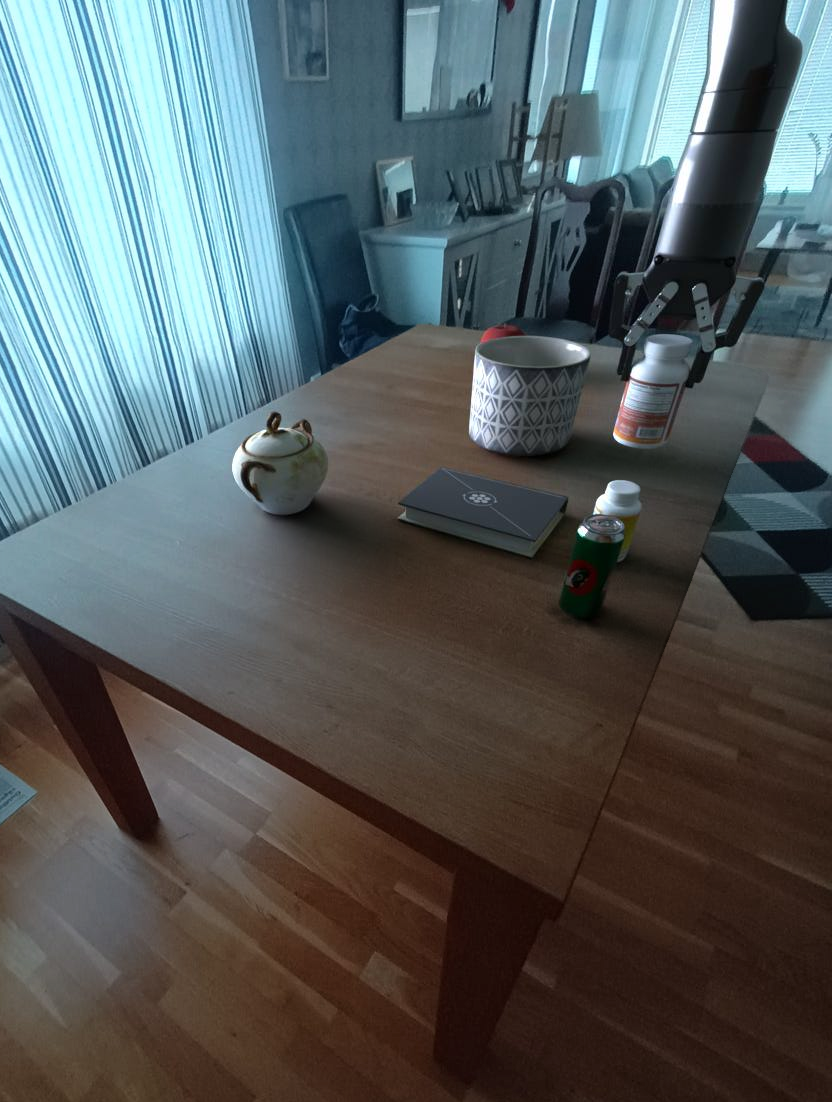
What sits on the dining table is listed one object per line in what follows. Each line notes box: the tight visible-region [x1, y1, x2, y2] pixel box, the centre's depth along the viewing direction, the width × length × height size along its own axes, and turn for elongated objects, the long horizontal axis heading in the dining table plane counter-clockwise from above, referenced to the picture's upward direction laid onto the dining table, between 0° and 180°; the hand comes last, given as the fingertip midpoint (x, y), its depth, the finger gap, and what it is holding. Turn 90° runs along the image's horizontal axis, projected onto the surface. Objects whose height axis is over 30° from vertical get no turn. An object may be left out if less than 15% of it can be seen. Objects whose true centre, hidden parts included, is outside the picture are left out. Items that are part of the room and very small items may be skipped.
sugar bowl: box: [231, 410, 329, 516], centre depth 90 cm, size 20×15×15 cm
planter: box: [468, 335, 592, 457], centre depth 104 cm, size 19×19×16 cm
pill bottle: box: [612, 333, 693, 450], centre depth 66 cm, size 6×6×11 cm
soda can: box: [558, 513, 625, 620], centre depth 68 cm, size 5×5×12 cm
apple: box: [479, 322, 526, 344], centre depth 136 cm, size 11×11×12 cm
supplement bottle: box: [592, 479, 643, 563], centre depth 77 cm, size 6×6×10 cm
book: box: [397, 466, 569, 559], centre depth 88 cm, size 22×15×3 cm
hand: (656, 382), depth 65 cm, fingers closed on pill bottle, 6 cm apart
